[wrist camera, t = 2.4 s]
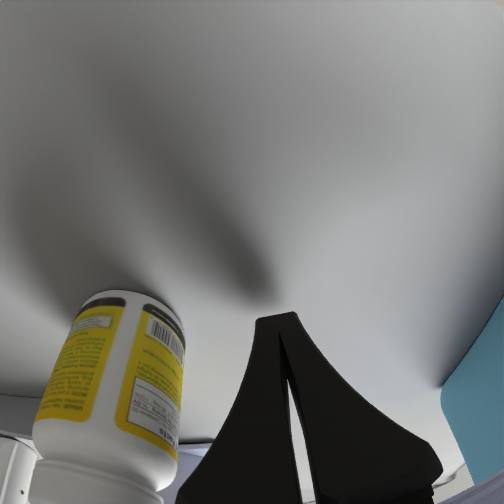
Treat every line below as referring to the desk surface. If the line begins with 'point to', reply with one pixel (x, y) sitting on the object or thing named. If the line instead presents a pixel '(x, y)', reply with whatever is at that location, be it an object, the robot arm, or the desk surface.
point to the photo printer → (15, 471)
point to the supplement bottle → (112, 405)
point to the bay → (18, 415)
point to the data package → (479, 401)
